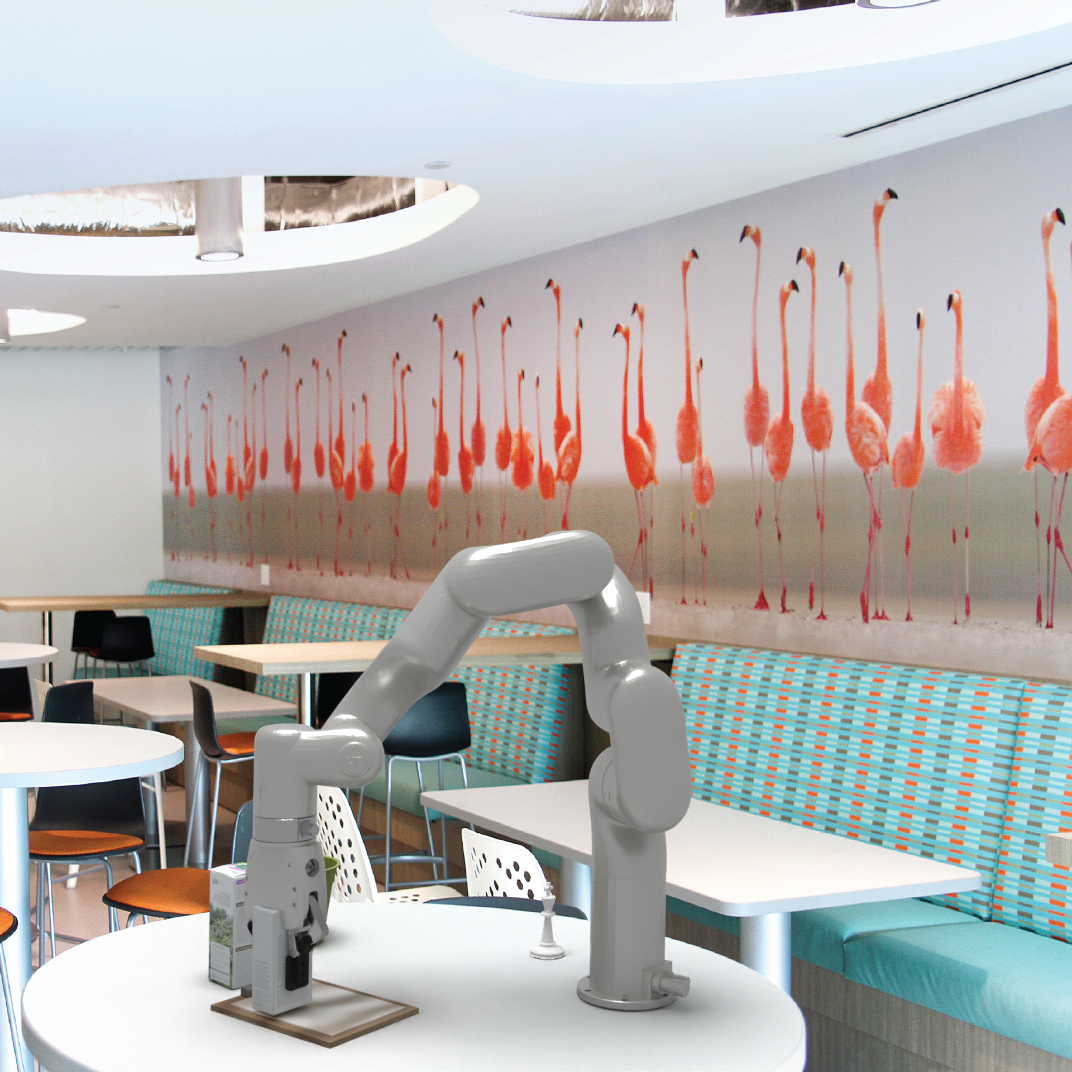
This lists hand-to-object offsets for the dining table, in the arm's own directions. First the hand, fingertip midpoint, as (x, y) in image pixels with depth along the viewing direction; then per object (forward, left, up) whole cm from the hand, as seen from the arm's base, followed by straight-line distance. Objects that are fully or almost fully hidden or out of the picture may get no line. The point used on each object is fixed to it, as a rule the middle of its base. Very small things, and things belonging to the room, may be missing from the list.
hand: (281, 982), depth 154 cm
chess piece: (-10, -41, -4) cm, 42 cm away
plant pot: (+21, -23, -4) cm, 31 cm away
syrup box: (+14, -6, -4) cm, 16 cm away
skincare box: (0, 0, -3) cm, 3 cm away
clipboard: (-2, -4, -4) cm, 6 cm away
